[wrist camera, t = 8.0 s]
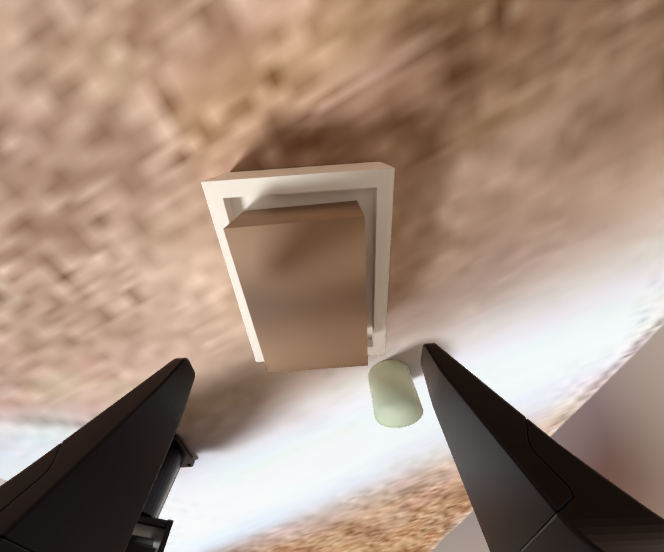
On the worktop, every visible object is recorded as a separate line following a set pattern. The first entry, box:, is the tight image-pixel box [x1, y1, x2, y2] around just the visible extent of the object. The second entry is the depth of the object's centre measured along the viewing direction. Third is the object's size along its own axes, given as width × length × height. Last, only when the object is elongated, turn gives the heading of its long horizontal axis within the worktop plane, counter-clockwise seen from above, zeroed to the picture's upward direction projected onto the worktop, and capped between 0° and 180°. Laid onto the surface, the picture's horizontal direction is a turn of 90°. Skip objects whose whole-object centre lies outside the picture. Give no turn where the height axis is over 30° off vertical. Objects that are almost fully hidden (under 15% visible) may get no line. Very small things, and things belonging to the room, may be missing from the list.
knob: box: [368, 360, 423, 428], centre depth 22 cm, size 4×4×4 cm
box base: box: [201, 161, 395, 362], centre depth 16 cm, size 12×9×4 cm
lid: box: [223, 200, 368, 373], centre depth 14 cm, size 9×6×3 cm, turn 5°
